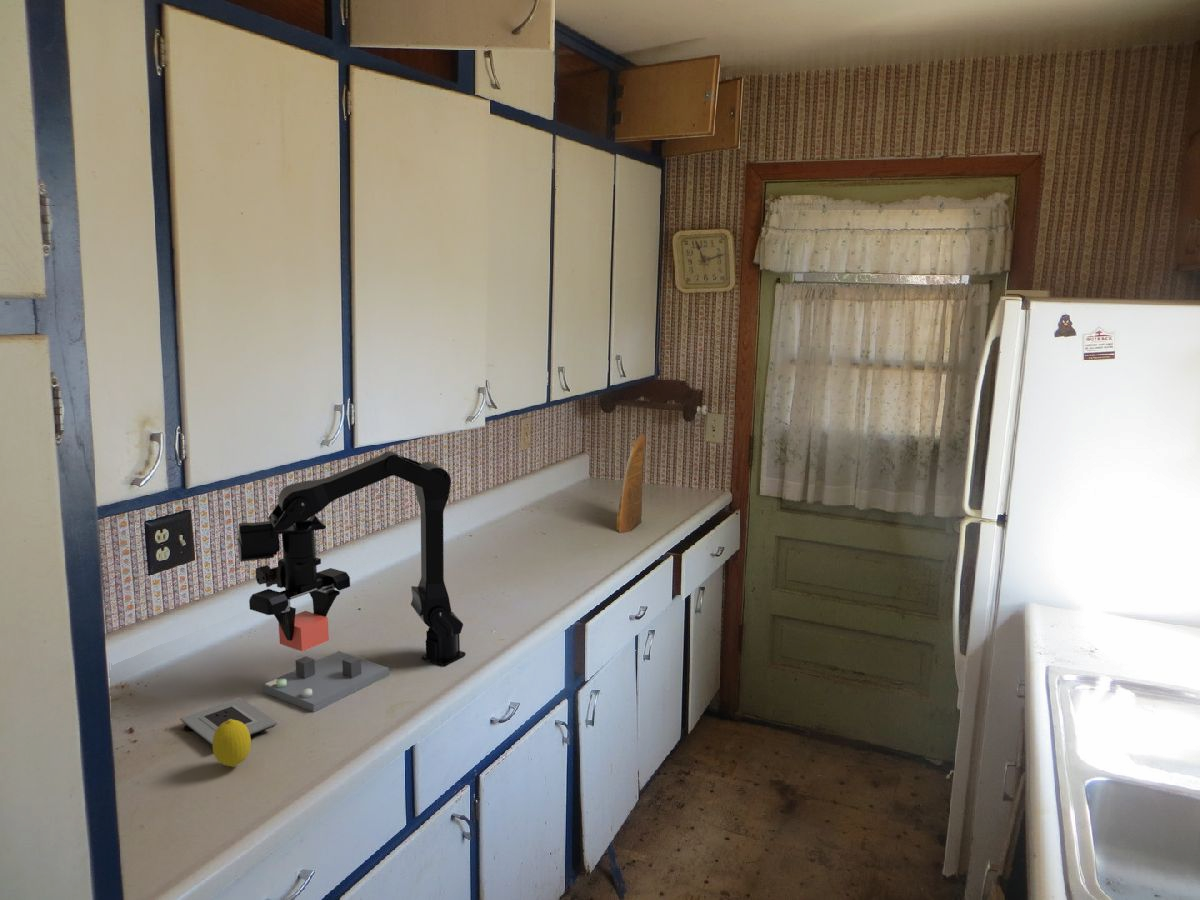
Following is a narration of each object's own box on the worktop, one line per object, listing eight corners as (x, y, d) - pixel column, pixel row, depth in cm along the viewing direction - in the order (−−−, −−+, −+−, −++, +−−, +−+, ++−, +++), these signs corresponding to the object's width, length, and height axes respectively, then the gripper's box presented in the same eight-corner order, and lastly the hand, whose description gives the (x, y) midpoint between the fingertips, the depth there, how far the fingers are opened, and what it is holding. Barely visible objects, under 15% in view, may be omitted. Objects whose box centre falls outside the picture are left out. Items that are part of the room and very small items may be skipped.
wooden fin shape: (650, 519, 287) (652, 432, 281) (632, 535, 269) (633, 442, 264) (630, 517, 289) (631, 430, 283) (610, 533, 271) (611, 441, 266)
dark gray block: (306, 670, 173) (305, 656, 172) (315, 674, 171) (314, 659, 171) (296, 675, 171) (295, 660, 170) (304, 678, 170) (303, 663, 169)
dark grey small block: (352, 670, 173) (352, 655, 173) (361, 673, 172) (360, 658, 171) (342, 674, 171) (342, 659, 171) (351, 678, 170) (351, 663, 169)
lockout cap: (306, 632, 174) (305, 610, 173) (328, 640, 171) (327, 617, 170) (279, 643, 169) (278, 620, 168) (302, 651, 166) (300, 628, 165)
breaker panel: (339, 658, 182) (338, 646, 182) (389, 675, 175) (388, 663, 174) (262, 691, 168) (262, 679, 167) (313, 712, 160) (313, 698, 160)
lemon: (207, 774, 140) (203, 726, 139) (227, 756, 145) (223, 709, 144) (240, 778, 139) (237, 729, 138) (259, 759, 145) (256, 712, 143)
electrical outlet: (277, 733, 153) (276, 720, 153) (216, 757, 146) (215, 743, 145) (240, 708, 162) (239, 695, 162) (181, 729, 155) (180, 716, 154)
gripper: (311, 534, 179) (315, 610, 182) (227, 559, 163) (233, 641, 166) (350, 544, 173) (353, 622, 176) (267, 570, 157) (272, 655, 160)
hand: (304, 634), depth 170 cm, fingers closed on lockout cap, 6 cm apart
